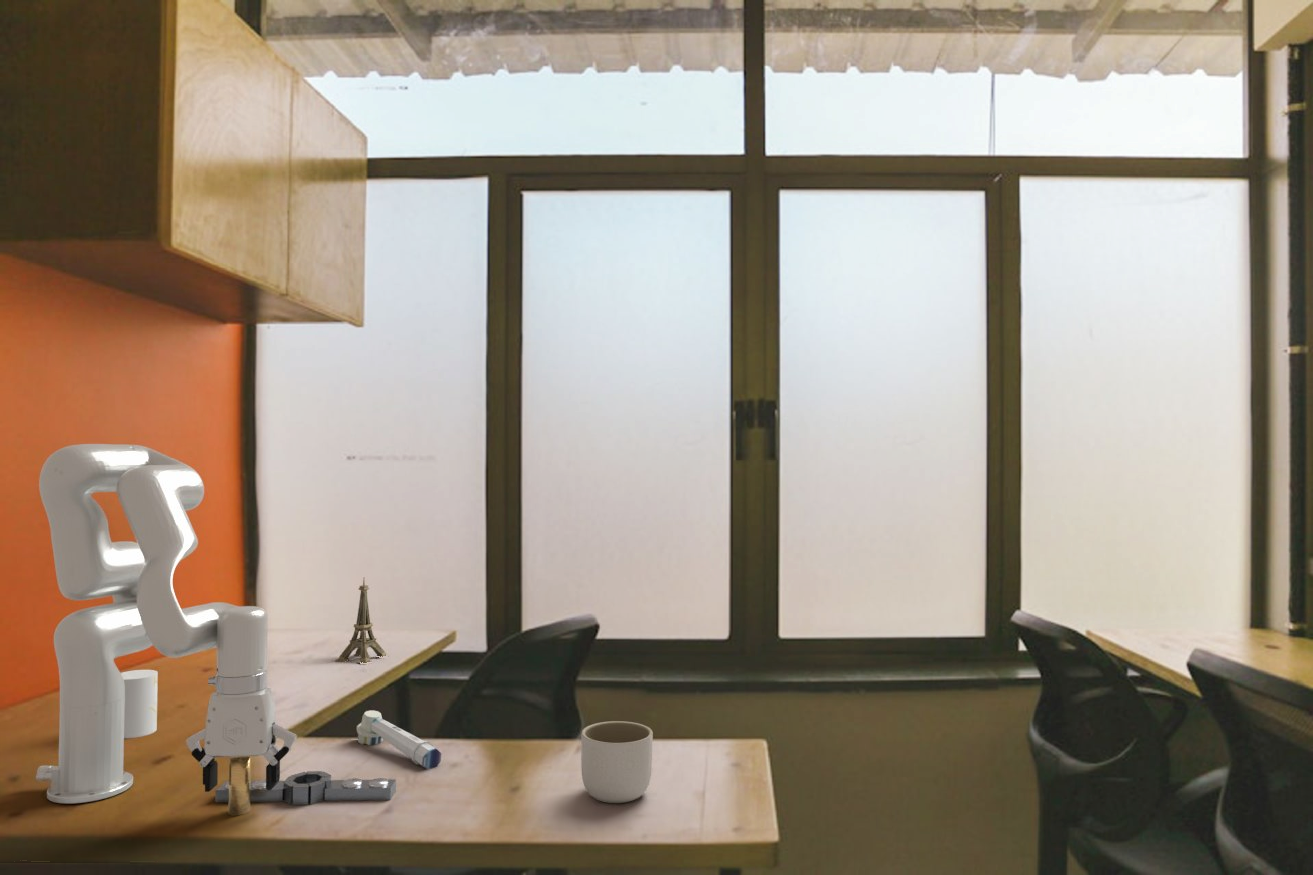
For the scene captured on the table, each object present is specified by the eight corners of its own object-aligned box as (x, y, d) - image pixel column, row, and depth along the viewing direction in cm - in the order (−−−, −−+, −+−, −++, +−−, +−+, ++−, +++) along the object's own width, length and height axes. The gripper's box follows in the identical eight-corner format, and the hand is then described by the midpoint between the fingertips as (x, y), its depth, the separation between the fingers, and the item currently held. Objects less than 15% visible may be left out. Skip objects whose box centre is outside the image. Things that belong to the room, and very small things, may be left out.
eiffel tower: (359, 653, 257) (360, 567, 257) (389, 656, 253) (391, 569, 253) (334, 661, 247) (336, 572, 247) (366, 665, 243) (367, 574, 243)
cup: (162, 731, 184) (163, 674, 184) (118, 741, 178) (119, 681, 178) (149, 723, 190) (150, 667, 190) (106, 731, 184) (107, 674, 184)
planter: (658, 785, 158) (659, 723, 158) (642, 812, 146) (643, 746, 146) (592, 778, 161) (593, 718, 161) (570, 804, 149) (571, 739, 149)
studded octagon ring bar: (211, 805, 147) (211, 787, 147) (229, 789, 154) (229, 772, 154) (388, 803, 148) (388, 785, 149) (397, 787, 156) (398, 770, 156)
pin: (225, 815, 143) (226, 759, 143) (233, 807, 146) (234, 753, 146) (245, 815, 143) (246, 759, 143) (253, 807, 146) (254, 752, 146)
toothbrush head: (421, 751, 163) (353, 706, 180) (418, 786, 164) (350, 737, 180) (445, 745, 167) (376, 701, 184) (442, 778, 168) (373, 731, 184)
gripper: (176, 690, 141) (176, 798, 140) (287, 688, 142) (287, 795, 141) (198, 678, 148) (197, 780, 148) (303, 676, 149) (303, 778, 149)
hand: (241, 787), depth 145 cm, fingers open, 9 cm apart
